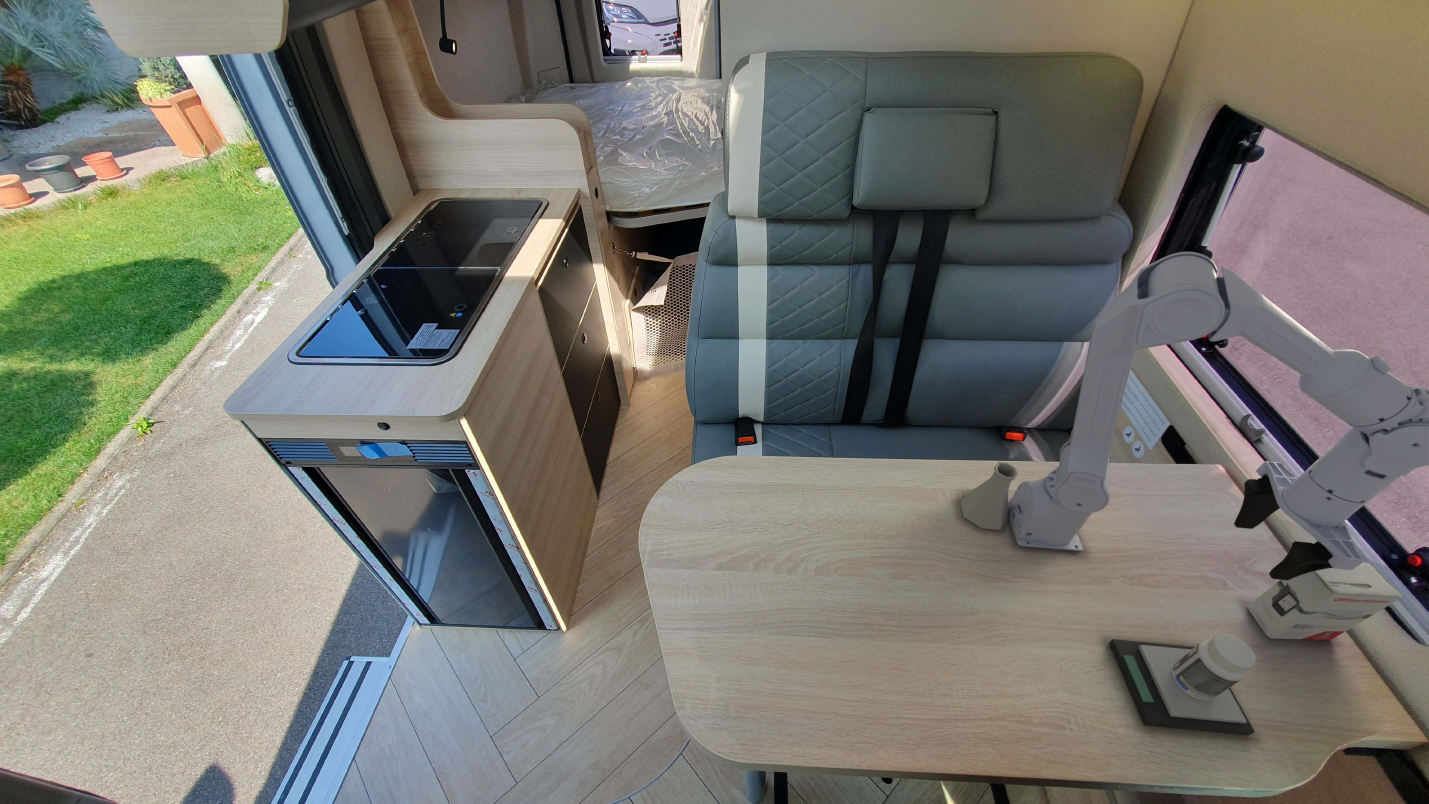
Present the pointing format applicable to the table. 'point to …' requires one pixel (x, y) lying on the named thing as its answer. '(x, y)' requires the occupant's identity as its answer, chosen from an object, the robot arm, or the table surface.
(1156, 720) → the scale
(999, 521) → the flask
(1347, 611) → the ink box
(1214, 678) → the pill bottle
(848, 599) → the table surface
